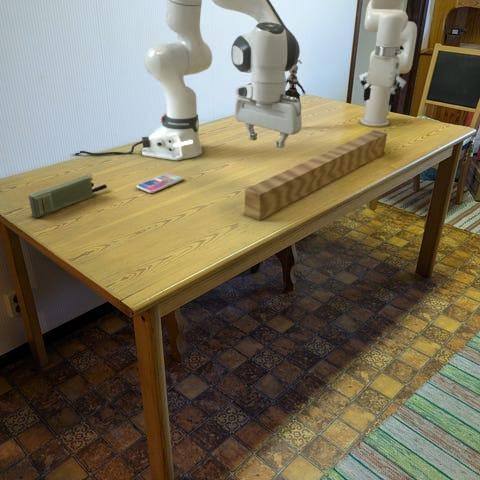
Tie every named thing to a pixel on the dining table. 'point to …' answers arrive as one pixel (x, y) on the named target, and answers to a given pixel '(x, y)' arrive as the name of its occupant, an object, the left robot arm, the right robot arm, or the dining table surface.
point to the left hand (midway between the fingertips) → (266, 143)
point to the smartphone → (159, 182)
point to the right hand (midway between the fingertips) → (378, 102)
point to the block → (311, 175)
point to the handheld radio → (62, 195)
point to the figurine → (293, 82)
